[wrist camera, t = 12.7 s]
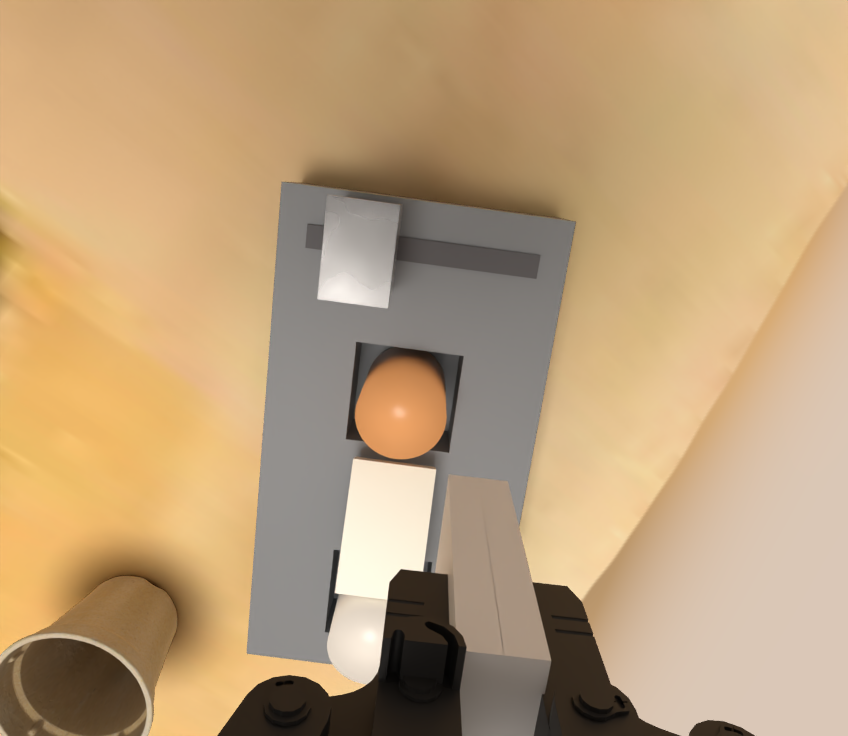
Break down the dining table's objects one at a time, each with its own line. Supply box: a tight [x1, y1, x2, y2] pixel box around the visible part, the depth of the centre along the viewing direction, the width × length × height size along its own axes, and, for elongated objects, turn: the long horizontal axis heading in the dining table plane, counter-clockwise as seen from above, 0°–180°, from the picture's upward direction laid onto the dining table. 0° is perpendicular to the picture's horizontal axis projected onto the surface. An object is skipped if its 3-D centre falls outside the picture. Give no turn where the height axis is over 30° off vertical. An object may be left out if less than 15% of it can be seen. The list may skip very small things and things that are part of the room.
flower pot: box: [0, 576, 177, 736], centre depth 42 cm, size 9×9×9 cm
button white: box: [327, 594, 387, 684], centre depth 38 cm, size 5×5×6 cm
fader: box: [317, 195, 403, 309], centre depth 32 cm, size 3×5×4 cm
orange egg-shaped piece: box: [355, 347, 447, 459], centre depth 36 cm, size 5×5×6 cm
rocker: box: [335, 457, 436, 600], centre depth 36 cm, size 4×7×1 cm, turn 172°
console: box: [247, 182, 576, 664], centre depth 39 cm, size 15×28×6 cm, turn 172°
